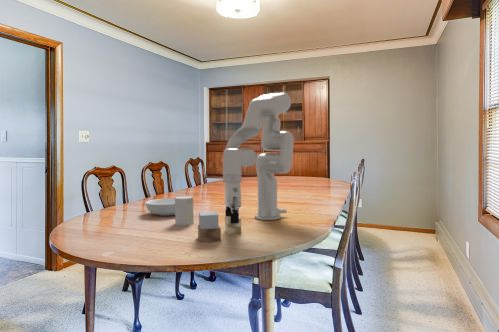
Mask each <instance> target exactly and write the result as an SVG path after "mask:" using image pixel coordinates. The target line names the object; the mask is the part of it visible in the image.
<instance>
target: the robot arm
mask: <svg viewBox="0 0 499 332" xmlns="http://www.w3.org/2000/svg"><path fill="white" fill-rule="evenodd" d="M291 104H292V99H291V96H290V95H289V94H288V93H287V92H279V93H278V92H277V93H268V94H262V95H260V96H258V97H256V98H254V99H251V100H250V102H249V104H248V108H247V110H246V113H245V117H244V120H243V123H242V125H241V127H239V128H238V129H237V130H236V131H235V132H234V133H233V134H232V135H231V136H230V137H229V139H228V140H227V143H226V145H225V149H223V152H222V154H223V155H222V165H223V166H222V183H224V204H225V216H231V224H233V223H239V217H240V212H239V211H240V208H241V207H242V191H241V183H242V171H243V170H242V167H251V166H254V164H255V168H256V175H257V213H256V214H254V218H255V219H256V220H259V221H275V220H279V219H281V214H287V212H288V209H287V208H286V209H284V208H283V209H282V208H279V207H278V181H277V180H278V179H277V178H276V176H275V174H287V173H289V172H290V171H291V168H292V163H293V155H294V144H295V143H294V142H295V141H294V140H295V139H294V135H293V133H291V132H290V131H287V130H281V120H280V117H279V115H281V114H283V113H285V112H287V111H288V110H289V109H290V108H291ZM261 132H262V134H261V141H260V142H261V143H260V145H261V148H262V150H264V151H269V152H264V153H262V152H261V153H260V154H258V155H257V153H256V152H255V151H254V150H253V149H251V148H241V147H240V146H241V145H242V144H244V143H245V141H248V140H249V139H250V140H251V139H252V138H254V137H256V136H258V135H259V134H260V133H261ZM272 151H273V152H272ZM225 216H224V217H225Z"/></svg>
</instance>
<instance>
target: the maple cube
mask: <svg viewBox="0 0 499 332" xmlns="http://www.w3.org/2000/svg"><path fill="white" fill-rule="evenodd" d="M224 232H226V234H228V235H230V234H232V235H233V234H240V233H241V234H242V218H241V217H240V216H239V223H233V224H231V216H224Z"/></svg>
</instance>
